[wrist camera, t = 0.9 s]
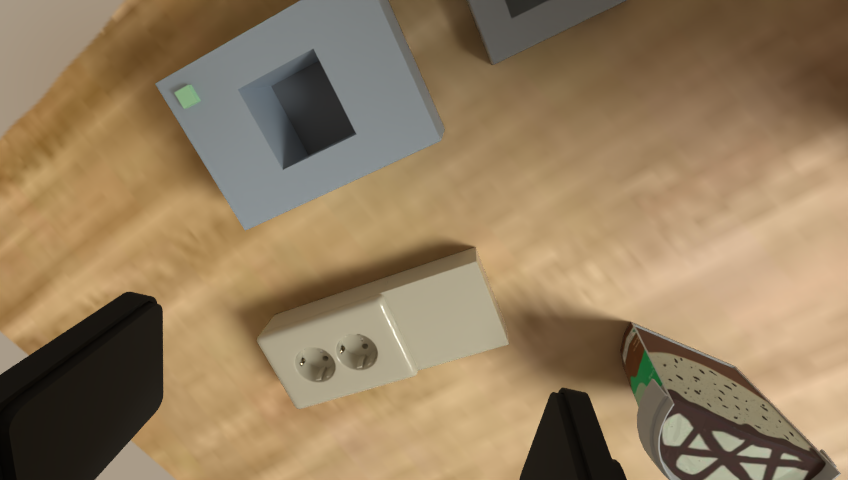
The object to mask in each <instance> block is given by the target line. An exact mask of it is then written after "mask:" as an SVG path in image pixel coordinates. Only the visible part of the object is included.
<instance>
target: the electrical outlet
mask: <svg viewBox="0 0 848 480" xmlns="http://www.w3.org/2000/svg"><path fill="white" fill-rule="evenodd" d="M257 343H258V345H259V346H260V348H261V350H262V351H263V353H264V355H265V356H266V358H267V360H268V362H269V363H270V365H271V367H272V368H273V370H274V372H275V373H276V375H277V377H278V379H279V380H280V382H281V384H282V385H283V387H284V389H285V390H286V392H287V394H288V396H289V397H290V399H291V401H292V402H293V404H294V406H295V407H296V408H297V409H302V408H306V407H309V406H313V405H316V404H320V403H323V402H327V401H330V400H334V399H337V398H341V397H344V396H348V395H351V394H355V393H358V392H362V391H365V390H369V389H372V388H376V387H379V386H383V385H386V384H390V383H393V382H397V381H400V380H404V379H407V378H411V377H414V376H415V375H416V374H417V372H418V371H419V370H422V369H425V368H429V367H432V366H436V365H439V364H443V363H446V362H450V361H453V360H457V359H460V358H464V357H467V356H470V355H474V354H477V353H481V352H484V351H488V350H491V349H495V348H498V347H502V346H505V345H509V340H508V334H507V328H506V324H505V321H504V318H503V316H502V313H501V311H500V308H499V305H498V303H497V300H496V298H495V295H494V293H493V290H492V287H491V285H490V282H489V280H488V277H487V275H486V272H485V269H484V267H483V264H482V262H481V259H480V256H479V254H478V251H477V249H476V247H474V248H471V249H468V250H465V251H462V252H459V253H456V254H453V255H450V256H447V257H444V258H441V259H438V260H435V261H432V262H429V263H427V264H424V265H421V266H418V267H415V268H412V269H409V270H406V271H403V272H400V273H397V274H394V275H391V276H388V277H385V278H382V279H379V280H376V281H373V282H370V283H367V284H364V285H361V286H358V287H356V288H353V289H350V290H347V291H344V292H341V293H338V294H335V295H332V296H329V297H326V298H323V299H320V300H317V301H314V302H311V303H308V304H305V305H302V306H299V307H296V308H293V309H290V310H287V311H285V312H282V313H279V314H276V315H274V316H273V318H272V319H271V320H270V321H269V323H268V324H267V325H266V327H265V328H264V329H263V331H262V332H261V333H260V335H259V336H258V337H257Z"/></svg>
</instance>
